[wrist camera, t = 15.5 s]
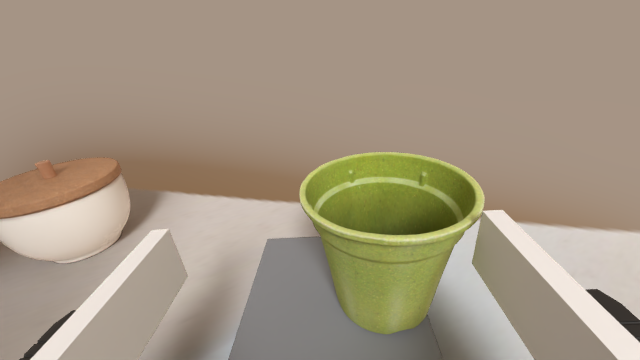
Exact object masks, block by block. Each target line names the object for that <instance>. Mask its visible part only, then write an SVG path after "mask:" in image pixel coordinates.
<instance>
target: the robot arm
mask: <svg viewBox="0 0 640 360" xmlns="http://www.w3.org/2000/svg"><path fill="white" fill-rule="evenodd" d="M472 264H473V266H474V267H475V269H476V270H477V272H478V273H479V275H480V276H481V278H482V279H483V281H484V283H485V284H486V286H487V287H488V289H489V290H490V292H491V293H492V295H493V296H494V298H495V299H496V301H497V303H498V304H499V306H500V307H501V309H502V310H503V312H504V313H505V315H506V316H507V318H508V319H509V321H510V323H511V324H512V326H513V327H514V329H515V330H516V332H517V333H518V335H519V336H520V338H521V339H522V341H523V343H524V344H525V346H526V347H527V349H528V350H529V352H530V353H531V355H532V356H533V358H534V359H535V360H640V320H639V319H638V318H637V317H635V316H634V315H633V314H632V313H631V312H630V311H629V310H628V309H626V308H625V307H624V306H623V305H622V304H621V303H619V302H618V301H616V300H614V299H613V298H611V297H609V296H608V295H606V294H604V293H603V292H601V291H599V290H598V289H590V290H585V289H584V288H583V287H582V286H581V285H580V284H579V283H578V282H577V281H575V280H574V279H573V278H572V277H571V276H570V275H569V274H568V273H567V272H566V271H565V270H564V269H563V268H562V267H561V266H560V265H559V264H558V263H557V262H556V261H555V260H554V259H553V258H552V257H551V256H550V255H549V254H547V253H546V252H545V251H544V250H543V249H542V248H541V247H540V246H539V245H538V244H537V243H536V242H535V241H534V240H533V239H532V238H531V237H530V236H529V235H528V234H527V233H526V232H525V231H524V230H523V229H522V228H521V227H519V226H518V225H517V224H516V223H515V222H514V221H513V220H512V219H511V218H510V217H509V216H508V215H507V214H506V213H505V212H504V211H503V210H493V211H482V216H481V221H480V226H479V231H478V236H477V241H476V246H475V250H474V255H473V260H472ZM187 277H188V275H187V272H186V270H185V267H184V265H183V262H182V260H181V258H180V255H179V253H178V250H177V248H176V245H175V243H174V240H173V238H172V235H171V233H170V230H169V229H160V230H151V232H150V233H149V234H148V235H147V236H146V237H145V238H144V239H143V240H142V241H141V242H140V243H139V244H138V245H137V246H136V247H135V249H134V250H133V251H132V252H131V253H130V254H129V255H128V256H127V257H126V258H125V259H124V260H123V261H122V262H121V263H120V265H119V266H118V267H117V268H116V269H115V270H114V271H113V272H112V273H111V274H110V275H109V276H108V277H107V278H106V279H105V280H104V282H103V283H102V284H101V285H100V286H99V287H98V288H97V289H96V290H95V291H94V292H93V293H92V294H91V295H90V296H89V298H88V299H87V300H86V301H85V302H84V303H83V304H82V305H81V306H80V307H79V308H78V309H77V310H73V311H71V312H70V313H69V314H67V315H66V316H65V317H63V318H62V319H60V320H59V321H58V322H56V323H55V324H54V325H53V326H52V327H51V328H50V329H49V330H48V331H47V332H46V333H45V334H44V335H43V336H42V337H41V338H40V339H39V340H38V343H37V344H34V345H33V346H32V347H31V348H30V349H29V350H28V351H27V352H26V353H25V354H24V358H21V359H20V360H138V358H139V357H140V355H141V353H142V352H143V350H144V349H145V347H146V345H147V344H148V342H149V340H150V339H151V337H152V335H153V334H154V332H155V330H156V329H157V327H158V325H159V324H160V322H161V320H162V319H163V317H164V315H165V314H166V312H167V310H168V309H169V307H170V305H171V304H172V302H173V300H174V299H175V297H176V295H177V294H178V292H179V290H180V289H181V287H182V285H183V284H184V282H185V280H186V279H187Z"/></svg>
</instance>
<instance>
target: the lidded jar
mask: <svg viewBox="0 0 640 360" xmlns="http://www.w3.org/2000/svg"><path fill="white" fill-rule="evenodd" d="M35 166H36V167H37V169H35V170H32V171H28V172H25V173H22V174H19V175H16V176H14V177H11V178H9V179H6V180H3V181H1V182H0V241H1V242H2V243H3V244H4V245H5V246H7V247H8V248H9V249H11V250H12V251H14V252H16V253H18V254H20V255H23V256H25V257H29V258H32V259H37V260H44V261H53V262H55V263H59V264H66V263H72V262H77V261H80V260H84V259H86V258H89V257H91V256H94V255H96V254H98V253H100V252H102V251H103V250H105V249H107V248H108V247H110V246H111V245H112V244H114V243H115V242H116V241H117V240H118V239H119V238H120V236H121V234H122V229H123V228H124V226H125V224H126V222H127V220H128V217H129V214H130V196H129V192H128V188H127V185H126V183H125V180H124V178H123V176H122V173H121V168H120V165H119V163H118V162H117V161H116V160H114V159H112V158H105V157H99V158H98V157H97V158H85V159H78V160H72V161H67V162H62V163H57V164H53V165H52V164H51V163H50V161H49V160H45V161H41V162H37V163H35Z"/></svg>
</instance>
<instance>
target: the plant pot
mask: <svg viewBox="0 0 640 360" xmlns="http://www.w3.org/2000/svg"><path fill="white" fill-rule="evenodd" d="M299 195H300V202H301V205H302V208H303V210H304V211H305V213H306V214H307V215H308V217H309V218H310V219H311V220H312V221H313V224H314V226H315V228H316V230H317V231H318V232H319V234H320V236H321V240H322V243H323V246H324V250H325V253H326V257H327V260H328V264H329V267H330V271H331V275H332V278H333V282H334V286H335V290H336V294H337V297H338V300H339V303H340V305H341V307H342V309H343V311H344V312H345V314H346V315H347V316H348V317H349V318H350V319H351V320H352V321H353V322H354V323H355V324H357V325H358V326H360V327H362V328H364V329H366V330H369V331H372V332H375V333H380V334H392V333H395V332H398V331H402V330H407V329H412V328H415V327H416V326H418V325H419V324H420V323H421V322H422V321H423V320H424V318H425V317H426V315H427V313H428V310H429V307H430V305H431V303H432V300H433V297H434V295H435V292H436V289H437V286H438V284H439V281H440V279H441V276H442V274H443V271H444V269H445V267H446V264H447V262H448V259H449V257H450V255H451V252H452V250H453V247H454V245H455V244H456V243H457V242H458V241H459V240H460V239H461V238H462V236H463V234H464V232H465V231H466V230H467V229H469V228H470V227H471V226H472V225H473V224H474V223H475V222H476V221H477V220H478V218H479V217H480V215H481V213H482V210H483V207H484V194H483V191H482V189H481V188H480V186H479V184H478V183H477V182H476V181H475V179H474V178H472V177H471V176H470V175H469V174H467V173H466V172H464V171H463V170H461V169H459V168H457V167H455V166H453V165H451V164H448V163H446V162H443V161H440V160H437V159H433V158H430V157H425V156H421V155H414V154H406V153H395V152H385V153H383V152H380V153H379V152H374V153H364V154H356V155H351V156H347V157H343V158H340V159H337V160H333V161H331V162H328V163H326V164H324V165H322V166H320V167H318V168H317V169H316V170H314V171H312V172H311V173H310V174H309V175H308V176H307V177H306V179H305V180H304V181H303V182H302V184H301V187H300V193H299Z"/></svg>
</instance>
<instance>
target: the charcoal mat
mask: <svg viewBox="0 0 640 360" xmlns="http://www.w3.org/2000/svg"><path fill="white" fill-rule="evenodd" d="M228 360H443V358H442V355H441V352H440V350H439V347H438V344H437V341H436V338H435V335H434V332H433V330H432V327H431V324H430V321H429V318H428V315H426V317H425V318H424V320H423V321H422V322H421V323H420V324H419V325H418V326H416V327H415V328H412V329H407V330H402V331H398V332H395V333H392V334H380V333H375V332H372V331H369V330H366V329H364V328H362V327H360V326H358V325H357V324H355V323H354V322H353V321H352V320H351V319H350V318H349V317H348V316H347V315H346V314H345V312H344V311H343V309H342V307H341V305H340V303H339V300H338V297H337V294H336V290H335V286H334V282H333V278H332V275H331V271H330V267H329V264H328V260H327V257H326V253H325V250H324V246H323V243H322V240H321V237H302V238H280V239H267V243H266V246H265V249H264V252H263V255H262V258H261V261H260V264H259V267H258V270H257V273H256V276H255V279H254V282H253V285H252V289H251V292H250V295H249V298H248V301H247V304H246V307H245V310H244V313H243V316H242V319H241V322H240V325H239V328H238V331H237V334H236V338H235V341H234V344H233V347H232V350H231V353H230V356H229V359H228Z"/></svg>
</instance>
